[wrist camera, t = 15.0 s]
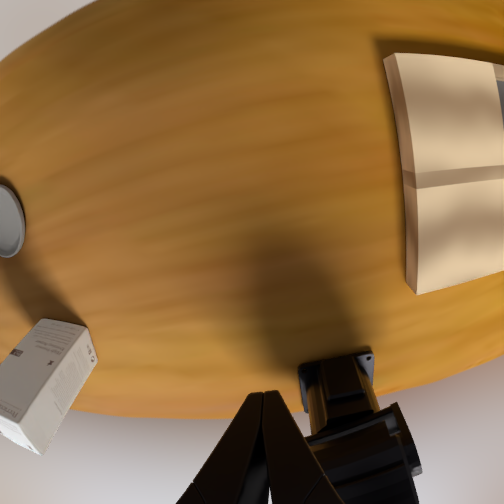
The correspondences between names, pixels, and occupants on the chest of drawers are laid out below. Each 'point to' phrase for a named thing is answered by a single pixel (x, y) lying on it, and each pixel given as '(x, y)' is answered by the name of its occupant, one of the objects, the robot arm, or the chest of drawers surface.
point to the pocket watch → (10, 223)
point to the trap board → (450, 166)
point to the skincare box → (43, 381)
